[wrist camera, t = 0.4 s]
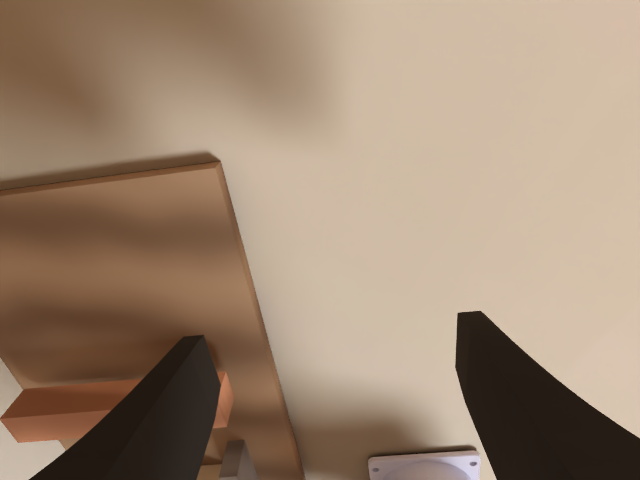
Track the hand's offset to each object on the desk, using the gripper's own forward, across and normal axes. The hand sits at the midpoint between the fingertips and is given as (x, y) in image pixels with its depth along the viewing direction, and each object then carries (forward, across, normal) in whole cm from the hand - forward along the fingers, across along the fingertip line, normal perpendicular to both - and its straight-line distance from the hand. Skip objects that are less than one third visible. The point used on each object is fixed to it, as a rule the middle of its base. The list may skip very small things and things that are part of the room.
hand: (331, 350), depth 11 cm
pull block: (+9, +13, +16) cm, 22 cm away
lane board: (+10, +13, +13) cm, 21 cm away
